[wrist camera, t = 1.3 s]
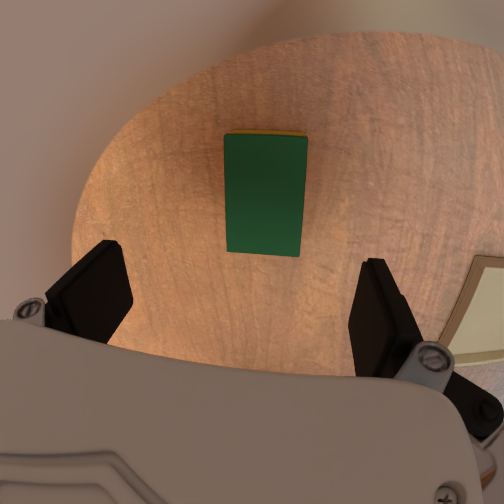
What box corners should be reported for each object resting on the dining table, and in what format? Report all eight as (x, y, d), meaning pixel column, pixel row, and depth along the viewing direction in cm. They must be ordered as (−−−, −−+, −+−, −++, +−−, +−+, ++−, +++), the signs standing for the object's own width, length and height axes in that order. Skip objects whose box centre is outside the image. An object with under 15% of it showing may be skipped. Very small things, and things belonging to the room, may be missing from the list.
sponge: (234, 129, 20) (223, 134, 17) (305, 132, 19) (307, 137, 16) (235, 231, 24) (226, 252, 21) (299, 235, 23) (299, 257, 20)
